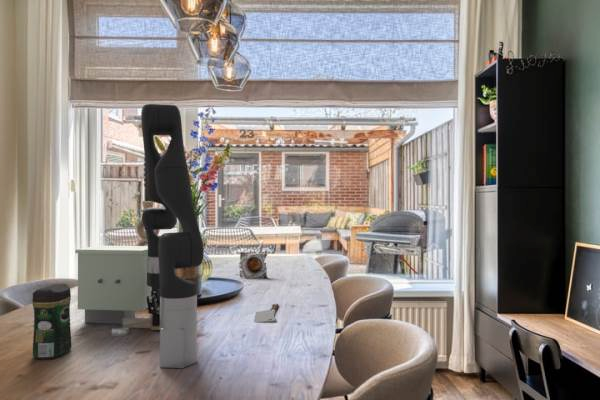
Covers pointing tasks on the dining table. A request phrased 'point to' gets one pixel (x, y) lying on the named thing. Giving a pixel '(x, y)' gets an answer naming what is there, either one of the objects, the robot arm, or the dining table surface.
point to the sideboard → (112, 282)
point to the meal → (253, 265)
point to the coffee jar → (51, 321)
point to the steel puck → (120, 331)
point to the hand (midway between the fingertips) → (159, 323)
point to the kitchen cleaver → (266, 315)
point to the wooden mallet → (140, 322)
